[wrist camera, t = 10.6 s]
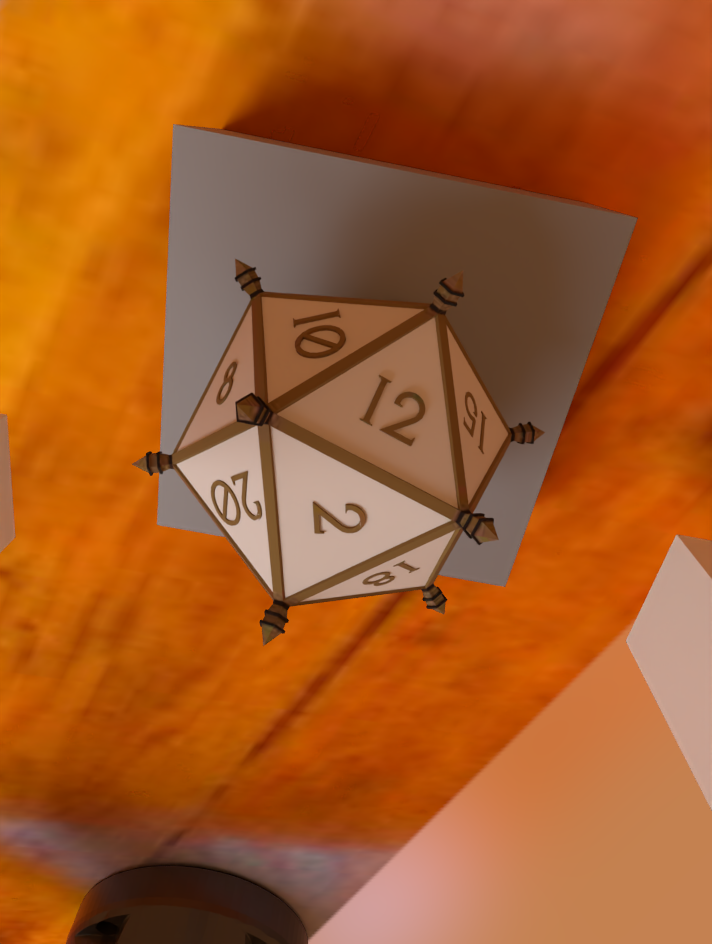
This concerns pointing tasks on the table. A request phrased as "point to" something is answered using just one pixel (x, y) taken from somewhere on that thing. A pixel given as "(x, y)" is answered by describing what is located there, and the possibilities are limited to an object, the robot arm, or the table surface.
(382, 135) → the table surface
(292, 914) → the robot arm
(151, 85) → the table surface
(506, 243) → the gray block
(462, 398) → the game die
